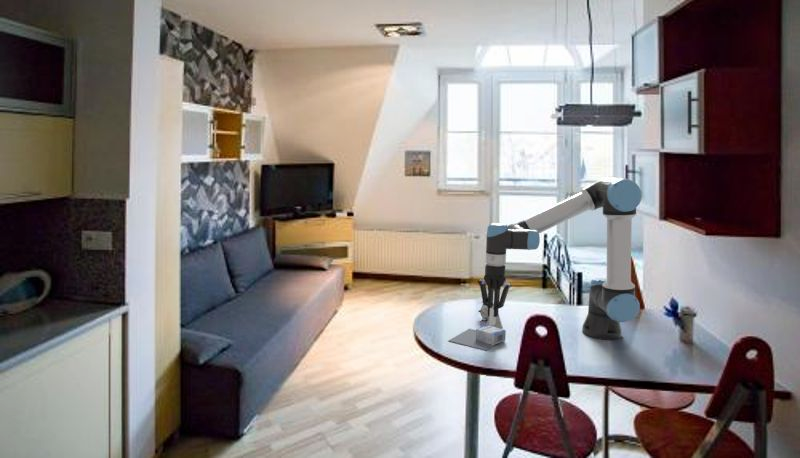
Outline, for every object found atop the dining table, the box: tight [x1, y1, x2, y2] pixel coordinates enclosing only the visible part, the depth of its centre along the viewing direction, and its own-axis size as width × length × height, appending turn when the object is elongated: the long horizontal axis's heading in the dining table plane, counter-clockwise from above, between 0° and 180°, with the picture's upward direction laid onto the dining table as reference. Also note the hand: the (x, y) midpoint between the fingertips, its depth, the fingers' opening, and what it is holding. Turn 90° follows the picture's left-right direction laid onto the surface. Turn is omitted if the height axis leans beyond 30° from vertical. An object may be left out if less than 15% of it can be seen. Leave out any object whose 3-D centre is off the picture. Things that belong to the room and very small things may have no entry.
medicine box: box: [475, 325, 507, 346], centre depth 211 cm, size 8×4×9 cm
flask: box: [485, 302, 503, 329], centre depth 228 cm, size 7×7×10 cm
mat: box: [448, 328, 495, 351], centre depth 213 cm, size 16×18×1 cm
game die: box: [477, 301, 489, 322], centre depth 237 cm, size 9×8×10 cm
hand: (492, 324), depth 209 cm, fingers closed
